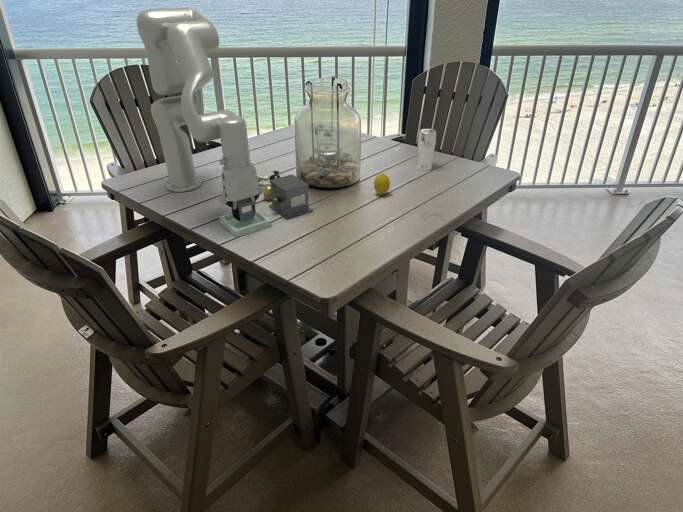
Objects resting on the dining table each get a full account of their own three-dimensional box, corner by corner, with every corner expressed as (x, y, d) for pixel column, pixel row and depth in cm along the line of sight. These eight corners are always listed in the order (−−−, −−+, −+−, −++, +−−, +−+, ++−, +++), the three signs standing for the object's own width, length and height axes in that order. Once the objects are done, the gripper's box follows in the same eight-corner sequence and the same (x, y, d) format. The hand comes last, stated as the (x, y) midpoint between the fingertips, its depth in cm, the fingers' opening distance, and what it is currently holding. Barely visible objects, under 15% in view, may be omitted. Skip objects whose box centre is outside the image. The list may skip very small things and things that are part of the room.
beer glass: (435, 166, 184) (439, 130, 176) (428, 172, 179) (432, 134, 171) (419, 163, 187) (423, 127, 179) (412, 168, 182) (415, 131, 174)
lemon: (391, 193, 162) (392, 171, 158) (386, 198, 158) (387, 177, 154) (377, 190, 164) (377, 169, 160) (371, 196, 160) (372, 174, 156)
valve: (244, 187, 167) (273, 191, 164) (241, 170, 164) (272, 174, 161) (252, 181, 173) (281, 184, 170) (250, 164, 169) (279, 168, 166)
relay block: (235, 217, 142) (232, 199, 138) (248, 213, 144) (245, 196, 141) (241, 222, 138) (238, 205, 135) (254, 218, 141) (252, 201, 138)
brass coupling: (262, 199, 158) (260, 185, 156) (272, 196, 160) (271, 183, 158) (267, 203, 156) (266, 189, 153) (277, 200, 158) (276, 186, 155)
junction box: (265, 207, 152) (262, 181, 147) (294, 199, 158) (292, 173, 153) (282, 220, 144) (280, 193, 139) (313, 211, 150) (311, 184, 145)
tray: (220, 222, 144) (219, 216, 142) (254, 212, 149) (253, 206, 148) (236, 237, 135) (235, 231, 134) (271, 226, 141) (271, 220, 140)
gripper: (214, 170, 125) (224, 229, 134) (269, 158, 133) (274, 214, 143) (204, 163, 130) (214, 219, 139) (257, 151, 138) (263, 205, 148)
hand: (244, 216), depth 141 cm, fingers closed on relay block, 4 cm apart
